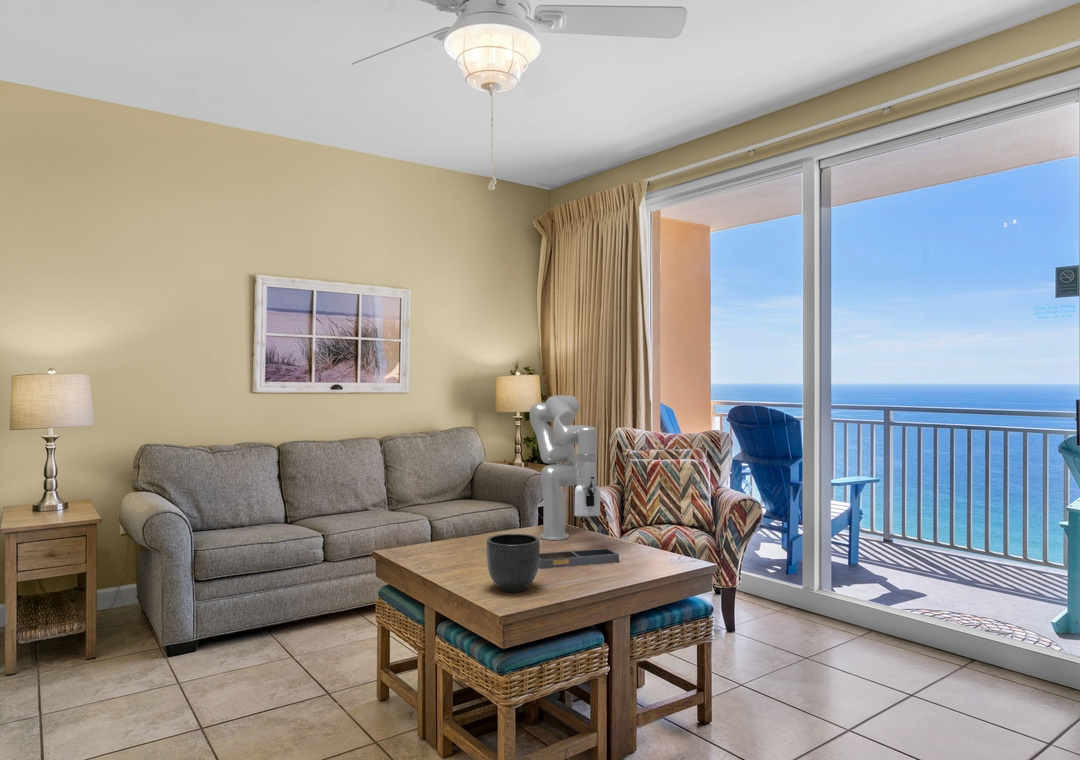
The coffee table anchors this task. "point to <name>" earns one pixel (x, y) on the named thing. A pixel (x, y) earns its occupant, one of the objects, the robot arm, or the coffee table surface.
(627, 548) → the coffee table surface
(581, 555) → the divided tray
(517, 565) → the planter
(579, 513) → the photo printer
